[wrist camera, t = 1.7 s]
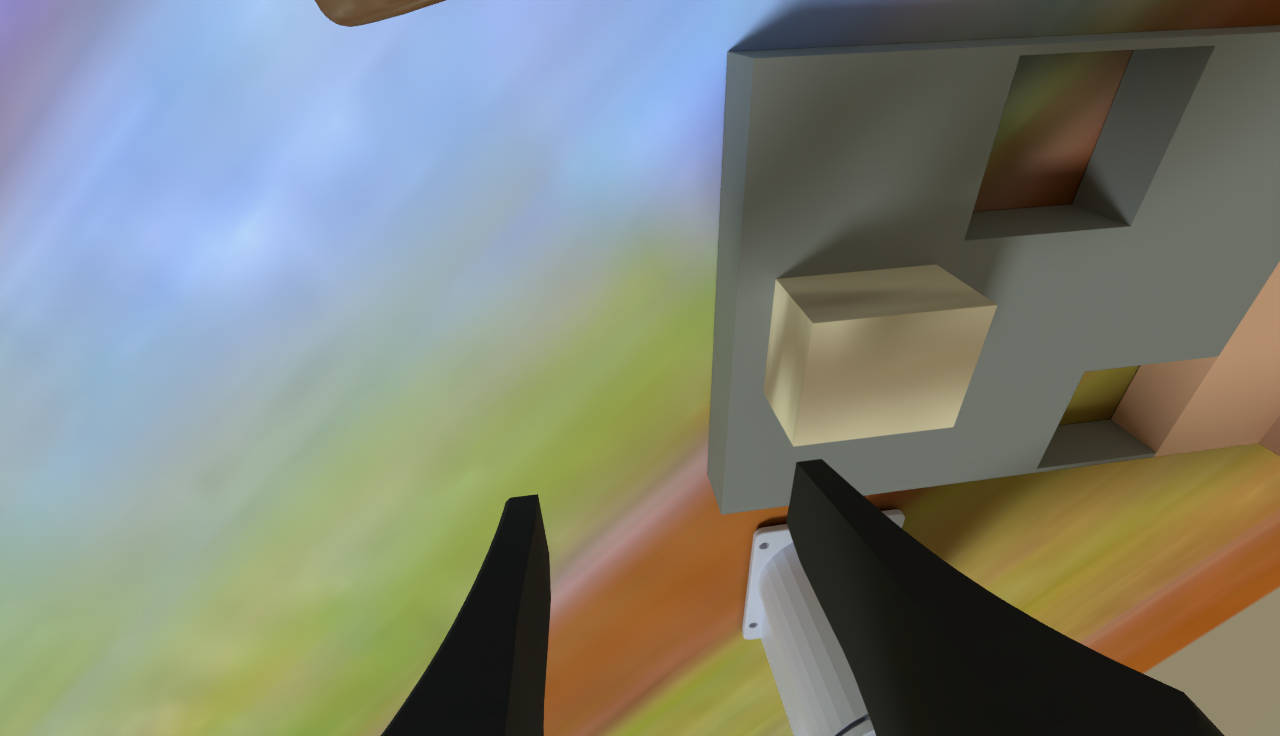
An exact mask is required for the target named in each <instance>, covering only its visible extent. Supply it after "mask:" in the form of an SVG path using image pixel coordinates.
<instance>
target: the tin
mask: <svg viewBox="0 0 1280 736" xmlns="http://www.w3.org/2000/svg"><path fill="white" fill-rule="evenodd" d="M442 1H445V0H315V2H316V3H317V5H318V6H319V8H320V10H321V11H322V12H323V13H324V15H325V16H326V17H327V18H329V19H330V20H331V21H333V22H334V23H336V24H339V25H342V26H349V27H352V26H358V25H364V24H369V23H373V22H377V21H381V20H384V19H388V18H391V17H395V16H399V15H403V14H406V13H409V12H412V11H415V10H418V9H421V8H424V7H427V6H430V5H433V4H436V3H439V2H442Z"/></svg>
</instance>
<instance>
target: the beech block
mask: <svg viewBox="0 0 1280 736" xmlns="http://www.w3.org/2000/svg"><path fill="white" fill-rule="evenodd" d="M996 308H997V304H995V303H994V302H992V301H991V300H989V299H988V298H986V297H985V296H983V295H982V294H980V293H979V292H977V291H976V290H974V289H973V288H971V287H970V286H968V285H967V284H965V283H964V282H962V281H961V280H959V279H958V278H956V277H955V276H953V275H952V274H950V273H949V272H947V271H946V270H944V269H943V268H941V267H940V266H938V265H937V264H935V265H924V266H913V267H902V268H891V269H880V270H869V271H858V272H847V273H836V274H825V275H814V276H803V277H792V278H781V279H776V282H775V291H774V300H773V309H772V318H771V326H770V335H769V344H768V353H767V362H766V371H765V380H764V389H763V393H764V395H765V397H766V399H767V400H768V402H769V404H770V406H771V407H772V409H773V411H774V413H775V415H776V416H777V418H778V420H779V422H780V424H781V425H782V427H783V429H784V431H785V432H786V434H787V436H788V438H789V440H790V441H791V443H792V445H793V447H795V446H803V445H811V444H819V443H827V442H835V441H844V440H852V439H860V438H868V437H876V436H885V435H893V434H901V433H909V432H917V431H925V430H934V429H942V428H950V427H954V424H955V422H956V419H957V416H958V413H959V410H960V408H961V405H962V402H963V399H964V397H965V394H966V391H967V388H968V386H969V383H970V380H971V377H972V374H973V372H974V369H975V366H976V363H977V361H978V358H979V355H980V352H981V350H982V347H983V344H984V341H985V338H986V336H987V333H988V330H989V327H990V325H991V322H992V319H993V316H994V314H995V311H996Z"/></svg>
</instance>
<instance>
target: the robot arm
mask: <svg viewBox="0 0 1280 736" xmlns="http://www.w3.org/2000/svg"><path fill="white" fill-rule="evenodd" d="M904 520H905V516H904V515H903V513H902V512H901V510H898V509H894V510H886V511H880V510H879V509H878V508H877V507H875V506H874V505H873V504H872V503H871V502H870V501H869V500H867V499H866V498H865V497H864V496H863V495H862V494H861V493H859V492H858V491H857V490H856V489H855V488H854V487H853V486H852V485H850V484H849V483H848V482H847V481H846V480H845V479H844V478H843V477H841V476H840V475H839V474H838V473H837V472H836V471H835V470H834V469H832V468H831V467H830V466H829V465H828V464H827V463H826V462H825V461H823V460H822V459H816V460H808V461H800V462H796V467H795V473H794V479H793V485H792V491H791V497H790V503H789V509H788V515H787V521H786V523H787V524H784V525H776V526H769V527H763V528H760V529H758V530H757V531H756V532H755V533H754V535H753V543H752V552H751V560H750V568H749V576H748V585H747V593H746V601H745V609H744V618H743V626H742V633H743V637H744V638H745V639H748V640H751V639H758V638H761V640H762V643H763V646H764V649H765V652H766V655H767V658H768V661H769V664H770V667H771V670H772V673H773V676H774V679H775V682H776V685H777V688H778V691H779V694H780V697H781V700H782V702H783V705H784V708H785V711H786V714H787V717H788V720H789V723H790V726H791V729H792V732H793V735H794V736H1224V735H1223V734H1222V733H1221V732H1220V730H1219V729H1218V728H1217V727H1216V726H1215V725H1214V724H1213V723H1212V722H1211V721H1210V720H1209V719H1208V718H1207V717H1206V716H1205V714H1204V713H1203V712H1202V711H1201V710H1200V709H1199V708H1198V707H1197V706H1196V705H1195V704H1194V703H1193V702H1192V701H1191V700H1190V698H1188V696H1187V695H1185V693H1184V692H1182V691H1179V690H1177V689H1175V688H1173V687H1171V686H1169V685H1166V684H1164V683H1162V682H1160V681H1158V680H1155V679H1153V678H1151V677H1149V676H1147V675H1144V674H1142V673H1140V672H1138V671H1136V670H1134V669H1131V668H1129V667H1127V666H1125V665H1123V664H1120V663H1118V662H1116V661H1114V660H1112V659H1110V658H1108V657H1106V656H1104V655H1102V654H1100V653H1098V652H1096V651H1094V650H1092V649H1090V648H1088V647H1086V646H1084V645H1082V644H1080V643H1078V642H1077V641H1075V640H1073V639H1071V638H1069V637H1067V636H1065V635H1063V634H1061V633H1059V632H1058V631H1056V630H1054V629H1052V628H1050V627H1048V626H1047V625H1045V624H1043V623H1041V622H1039V621H1038V620H1036V619H1034V618H1033V617H1031V616H1029V615H1028V614H1026V613H1024V612H1022V611H1021V610H1019V609H1017V608H1016V607H1014V606H1012V605H1010V604H1009V603H1007V602H1005V601H1004V600H1002V599H1001V598H999V597H997V596H996V595H994V594H992V593H991V592H989V591H988V590H986V589H985V588H983V587H982V586H980V585H979V584H977V583H976V582H974V581H973V580H971V579H970V578H968V577H967V576H965V575H964V574H962V573H961V572H959V571H958V570H956V569H955V568H953V567H952V566H951V565H949V564H948V563H946V562H945V561H943V560H942V559H941V558H939V557H938V556H937V555H935V554H934V553H933V552H931V551H930V550H929V549H927V548H926V547H925V546H923V545H922V544H921V543H919V542H918V541H917V540H916V539H914V538H913V537H912V536H910V535H909V534H908V533H907V532H905V531H904V530H903V529H902V526H903V523H904ZM550 604H551V590H550V563H549V551H548V546H547V540H546V535H545V530H544V524H543V519H542V514H541V509H540V503H539V498H538V494H537V495H529V496H521V497H513V498H510V499H509V500H507V501H506V503H505V507H504V510H503V513H502V516H501V519H500V522H499V525H498V528H497V531H496V533H495V536H494V538H493V541H492V543H491V546H490V548H489V551H488V553H487V555H486V558H485V560H484V562H483V564H482V567H481V569H480V571H479V573H478V575H477V578H476V580H475V582H474V584H473V586H472V588H471V590H470V592H469V594H468V596H467V598H466V600H465V602H464V604H463V606H462V608H461V610H460V612H459V613H458V615H457V617H456V619H455V621H454V623H453V625H452V627H451V629H450V630H449V632H448V634H447V636H446V637H445V639H444V641H443V643H442V644H441V646H440V648H439V649H438V651H437V653H436V654H435V656H434V658H433V659H432V661H431V662H430V664H429V666H428V667H427V669H426V671H425V672H424V674H423V675H422V677H421V678H420V680H419V681H418V683H417V684H416V686H415V687H414V689H413V690H412V692H411V693H410V695H409V696H408V698H407V699H406V701H405V702H404V704H403V705H402V707H401V708H400V710H399V711H398V712H397V714H396V715H395V717H394V718H393V720H392V721H391V722H390V724H389V725H388V727H387V728H386V729H385V731H384V732H383V733H382V735H381V736H544V729H543V723H544V696H545V681H546V666H547V651H548V636H549V620H550Z"/></svg>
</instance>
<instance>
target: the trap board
mask: <svg viewBox="0 0 1280 736" xmlns="http://www.w3.org/2000/svg"><path fill="white" fill-rule="evenodd" d="M1119 50H1134V51H1133V53H1132V56H1131V58H1130V61H1129V63H1128V66H1127V68H1126V71H1125V73H1124V76H1123V78H1122V81H1121V83H1120V86H1119V88H1118V91H1117V93H1116V96H1115V98H1114V101H1113V103H1112V106H1111V108H1110V111H1109V113H1108V116H1107V118H1106V121H1105V123H1104V126H1103V128H1102V131H1101V133H1100V136H1099V138H1098V141H1097V143H1096V146H1095V148H1094V151H1093V153H1092V156H1091V158H1090V161H1089V163H1088V166H1087V168H1086V171H1085V173H1084V176H1083V178H1082V181H1081V183H1080V186H1079V188H1078V191H1077V193H1076V196H1075V198H1074V201H1073V203H1072V204H1068V205H1056V206H1043V207H1031V208H1019V209H1006V210H994V211H982V212H973V210H974V206H975V203H976V200H977V196H978V193H979V190H980V187H981V183H982V180H983V177H984V173H985V170H986V167H987V163H988V160H989V157H990V153H991V150H992V147H993V144H994V140H995V137H996V134H997V130H998V127H999V124H1000V120H1001V117H1002V114H1003V110H1004V107H1005V104H1006V101H1007V97H1008V94H1009V91H1010V87H1011V84H1012V81H1013V77H1014V74H1015V71H1016V67H1017V64H1018V61H1019V58H1020V56H1022V55H1041V54H1061V53H1080V52H1099V51H1119ZM935 264H937V265H938V266H940V267H941V268H943V269H944V270H946V271H947V272H949V273H950V274H952V275H953V276H955V277H956V278H958V279H959V280H961V281H962V282H964V283H965V284H967V285H968V286H970V287H971V288H973V289H974V290H976V291H977V292H979V293H980V294H982V295H983V296H985V297H986V298H988V299H989V300H991V301H992V302H994V303H995V304H997V308H996V311H995V314H994V316H993V319H992V322H991V325H990V327H989V330H988V333H987V336H986V338H985V341H984V344H983V347H982V350H981V352H980V355H979V358H978V361H977V363H976V366H975V369H974V372H973V374H972V377H971V380H970V383H969V386H968V388H967V391H966V394H965V397H964V399H963V402H962V405H961V408H960V410H959V413H958V416H957V419H956V422H955V424H954V427H950V428H942V429H934V430H925V431H917V432H909V433H901V434H893V435H885V436H876V437H868V438H860V439H852V440H844V441H835V442H827V443H819V444H811V445H803V446H795V447H793V445H792V443H791V441H790V440H789V438H788V436H787V434H786V432H785V431H784V429H783V427H782V425H781V424H780V422H779V420H778V418H777V416H776V415H775V413H774V411H773V409H772V407H771V406H770V404H769V402H768V400H767V399H766V397H765V395H764V393H763V389H764V380H765V371H766V362H767V353H768V344H769V335H770V326H771V318H772V309H773V300H774V291H775V282H776V279H781V278H792V277H803V276H814V275H825V274H836V273H847V272H858V271H869V270H880V269H891V268H902V267H913V266H924V265H935ZM1139 365H1141V366H1140V367H1139V369H1138V371H1137V373H1136V375H1135V376H1134V378H1133V380H1132V382H1131V384H1130V385H1129V387H1128V389H1127V391H1126V393H1125V394H1124V396H1123V398H1122V400H1121V401H1120V403H1119V405H1118V407H1117V409H1116V410H1115V412H1114V414H1113V416H1112V418H1111V419H1109V420H1101V421H1093V422H1084V423H1076V424H1068V425H1060V426H1058V424H1059V422H1060V420H1061V418H1062V416H1063V414H1064V412H1065V410H1066V408H1067V406H1068V404H1069V402H1070V400H1071V398H1072V396H1073V394H1074V392H1075V390H1076V388H1077V386H1078V384H1079V382H1080V380H1081V378H1082V376H1083V374H1084V372H1087V371H1095V370H1104V369H1113V368H1122V367H1130V366H1139ZM1255 443H1259V444H1261V445H1262V446H1264V447H1266V448H1267V449H1269V450H1271V451H1272V452H1274V453H1276V454H1277V455H1279V456H1280V25H1269V26H1249V27H1228V28H1207V29H1187V30H1166V31H1145V32H1125V33H1104V34H1083V35H1062V36H1042V37H1021V38H1000V39H980V40H959V41H938V42H918V43H897V44H876V45H856V46H835V47H814V48H793V49H773V50H752V51H731V52H727V72H726V93H725V114H724V135H723V156H722V177H721V198H720V219H719V239H718V260H717V281H716V302H715V323H714V344H713V365H712V386H711V407H710V428H709V449H708V470H707V474H708V477H709V480H710V483H711V486H712V488H713V491H714V494H715V497H716V500H717V503H718V506H719V509H720V512H721V515H722V514H729V513H737V512H744V511H752V510H759V509H767V508H774V507H782V506H789V503H790V497H791V491H792V485H793V479H794V473H795V467H796V462H800V461H808V460H816V459H822V460H823V461H825V462H826V463H827V464H828V465H829V466H830V467H831V468H832V469H834V470H835V471H836V472H837V473H838V474H839V475H840V476H841V477H843V478H844V479H845V480H846V481H847V482H848V483H849V484H850V485H852V486H853V487H854V488H855V489H856V490H857V491H858V492H859V493H861V494H862V495H863V496H864V495H872V494H879V493H887V492H894V491H902V490H909V489H917V488H924V487H932V486H939V485H947V484H954V483H962V482H969V481H977V480H985V479H992V478H1000V477H1007V476H1015V475H1022V474H1030V473H1037V472H1045V471H1052V470H1060V469H1067V468H1075V467H1082V466H1090V465H1097V464H1105V463H1112V462H1120V461H1127V460H1135V459H1142V458H1150V457H1157V456H1165V455H1172V454H1180V453H1187V452H1195V451H1202V450H1210V449H1217V448H1225V447H1232V446H1240V445H1247V444H1255Z"/></svg>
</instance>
